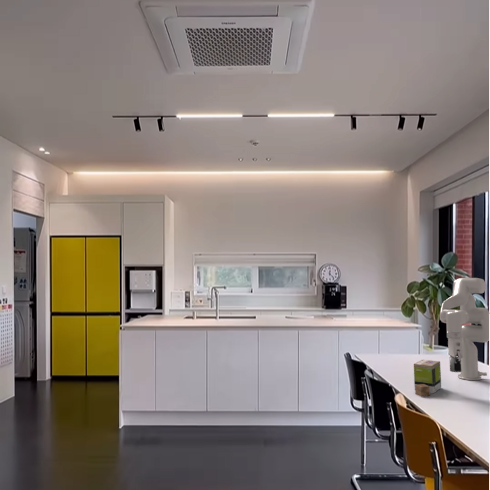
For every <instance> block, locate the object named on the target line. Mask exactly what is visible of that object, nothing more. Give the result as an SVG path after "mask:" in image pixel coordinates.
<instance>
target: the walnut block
mask: <svg viewBox="0 0 490 490" xmlns="http://www.w3.org/2000/svg"><path fill="white" fill-rule="evenodd" d="M414 391H415V392H414V393H415V395H416V396H419V397H422V398H423V397H430V396H431V393H430V388H429V386H427V385H425V384H416V385H415V384H414Z"/></svg>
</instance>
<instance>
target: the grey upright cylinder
mask: <svg viewBox="0 0 490 490" xmlns="http://www.w3.org/2000/svg"><path fill="white" fill-rule="evenodd" d="M456 360H457V359H456ZM454 363H455V360H454V357H450V356H449V371H450V372H452V373H461V372H462V370H461V371H455V370H454Z"/></svg>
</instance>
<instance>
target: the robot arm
mask: <svg viewBox="0 0 490 490" xmlns="http://www.w3.org/2000/svg"><path fill="white" fill-rule="evenodd" d="M486 287H487V284H486V282H485V279H483V278H478V277H460V278H457V279H454V281H453V290H452V295H451V296H450V297H448V298H446V300H444V301H443V302H442V304H441V306H440V311H439V320H440V321H441V323H444V324H446V338H447V340H448V341H447V345H448V346H447V347H448V348H447V351H448V354H449V357H454V360H455V363H454V370H455V371H461V370H462V372H460V374H459V373H458V375H457V377H458V378H459V379H461V380H467V381H481V380H482V376H483V377H488V373H487V372H482V371H479V361H478V359H479V358H478V357H479V356H478V354H479V353H478V348H477V346H476V345H475V344H474V342H475V343H476V342H477V343H488V341H489V314H490V310H489V309H487V308H486V307H476V298H475V297H474V295H473V294H483V293H485V292H486V289H487V288H486ZM458 307H459V309H453V308H458ZM470 324H479V325H470ZM489 342H490V341H489ZM456 359H457V360H456Z"/></svg>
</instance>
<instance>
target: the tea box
mask: <svg viewBox="0 0 490 490" xmlns="http://www.w3.org/2000/svg"><path fill="white" fill-rule="evenodd" d="M441 373H442V372H441V361H439V360H432V359H431V360H430V359H421V360H419V361H417V362H416V363H414V364H413V378H414V379H413V380H414V386H415V385H416V384H425V385H427V386H429V388H430V394H434V393H436V392H437V391H439V390H440V389H441V388H442V374H441Z"/></svg>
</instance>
